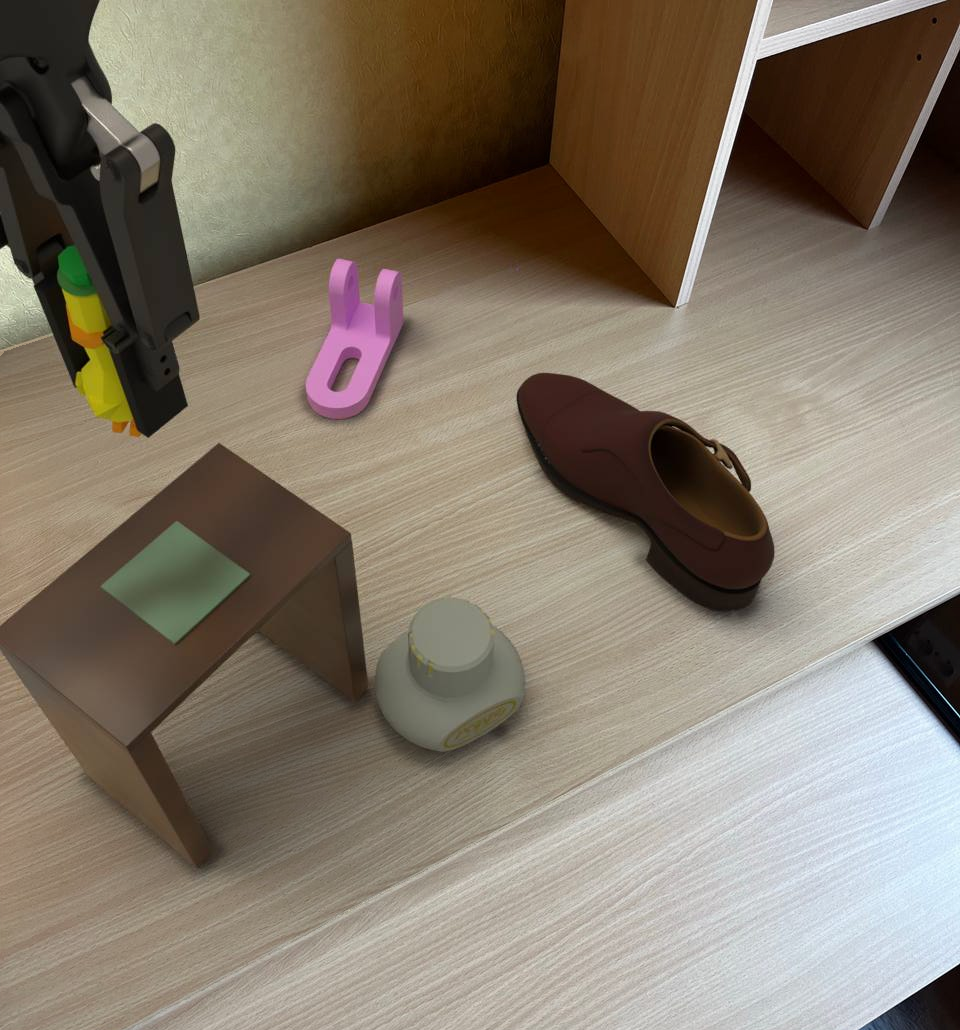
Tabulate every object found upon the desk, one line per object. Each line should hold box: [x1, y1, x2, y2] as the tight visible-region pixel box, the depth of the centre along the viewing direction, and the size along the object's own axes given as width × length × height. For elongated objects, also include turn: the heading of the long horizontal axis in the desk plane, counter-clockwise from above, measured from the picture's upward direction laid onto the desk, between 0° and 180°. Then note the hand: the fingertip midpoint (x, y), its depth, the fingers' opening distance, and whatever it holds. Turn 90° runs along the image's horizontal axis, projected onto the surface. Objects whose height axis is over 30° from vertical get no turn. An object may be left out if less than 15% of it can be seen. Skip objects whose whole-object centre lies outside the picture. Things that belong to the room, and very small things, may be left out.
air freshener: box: [374, 597, 526, 753], centre depth 78 cm, size 11×8×10 cm
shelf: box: [0, 442, 370, 869], centre depth 72 cm, size 11×18×20 cm, turn 142°
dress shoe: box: [516, 372, 775, 612], centre depth 87 cm, size 9×28×12 cm, turn 38°
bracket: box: [305, 258, 404, 420], centre depth 96 cm, size 13×6×7 cm, turn 164°
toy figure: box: [57, 246, 143, 438], centre depth 52 cm, size 7×4×12 cm, turn 171°
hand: (130, 395), depth 55 cm, fingers closed on toy figure, 4 cm apart
